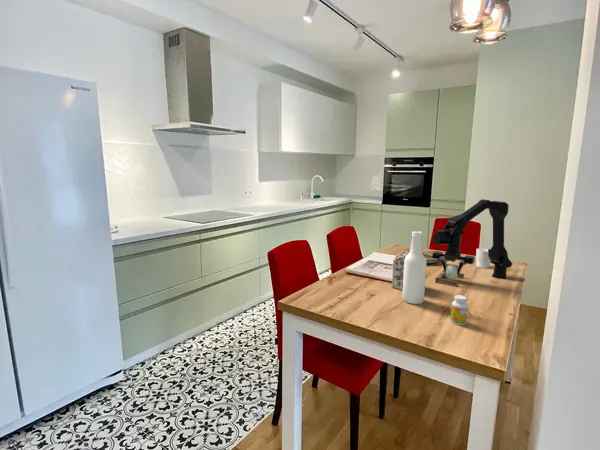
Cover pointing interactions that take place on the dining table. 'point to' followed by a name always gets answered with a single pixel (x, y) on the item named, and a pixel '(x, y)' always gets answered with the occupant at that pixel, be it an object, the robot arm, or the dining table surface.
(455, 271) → the white rounded canister
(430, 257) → the pie
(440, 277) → the dock
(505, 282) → the dining table surface
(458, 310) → the supplement bottle
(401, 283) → the decorative jar
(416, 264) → the alcohol
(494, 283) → the dining table surface
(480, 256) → the white cup
